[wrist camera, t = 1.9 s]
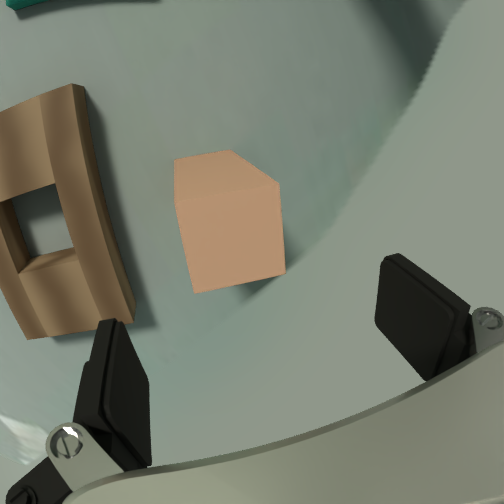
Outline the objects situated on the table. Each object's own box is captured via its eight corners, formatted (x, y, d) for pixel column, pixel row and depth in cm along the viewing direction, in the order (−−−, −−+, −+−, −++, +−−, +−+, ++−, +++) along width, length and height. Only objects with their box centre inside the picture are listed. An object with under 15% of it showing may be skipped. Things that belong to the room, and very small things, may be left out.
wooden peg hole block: (83, 86, 21) (71, 83, 18) (136, 302, 31) (133, 322, 28) (-27, 132, 19) (-46, 136, 16) (36, 320, 29) (27, 339, 26)
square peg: (230, 149, 27) (279, 183, 15) (236, 202, 29) (285, 274, 17) (174, 159, 26) (174, 202, 14) (184, 212, 29) (194, 293, 16)
